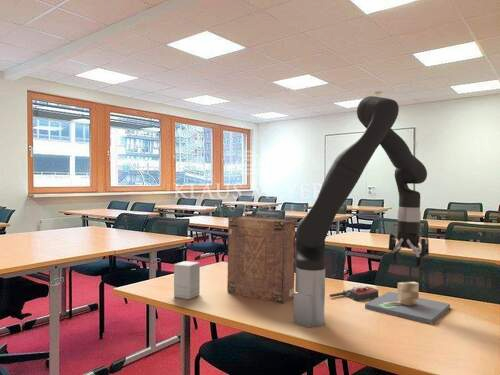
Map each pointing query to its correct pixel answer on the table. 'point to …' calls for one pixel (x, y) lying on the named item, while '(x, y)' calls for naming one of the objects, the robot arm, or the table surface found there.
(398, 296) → the tuning knob
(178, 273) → the supplement box
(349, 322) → the table surface
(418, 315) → the grey flat square slab
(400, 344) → the table surface
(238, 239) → the book
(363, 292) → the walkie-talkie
